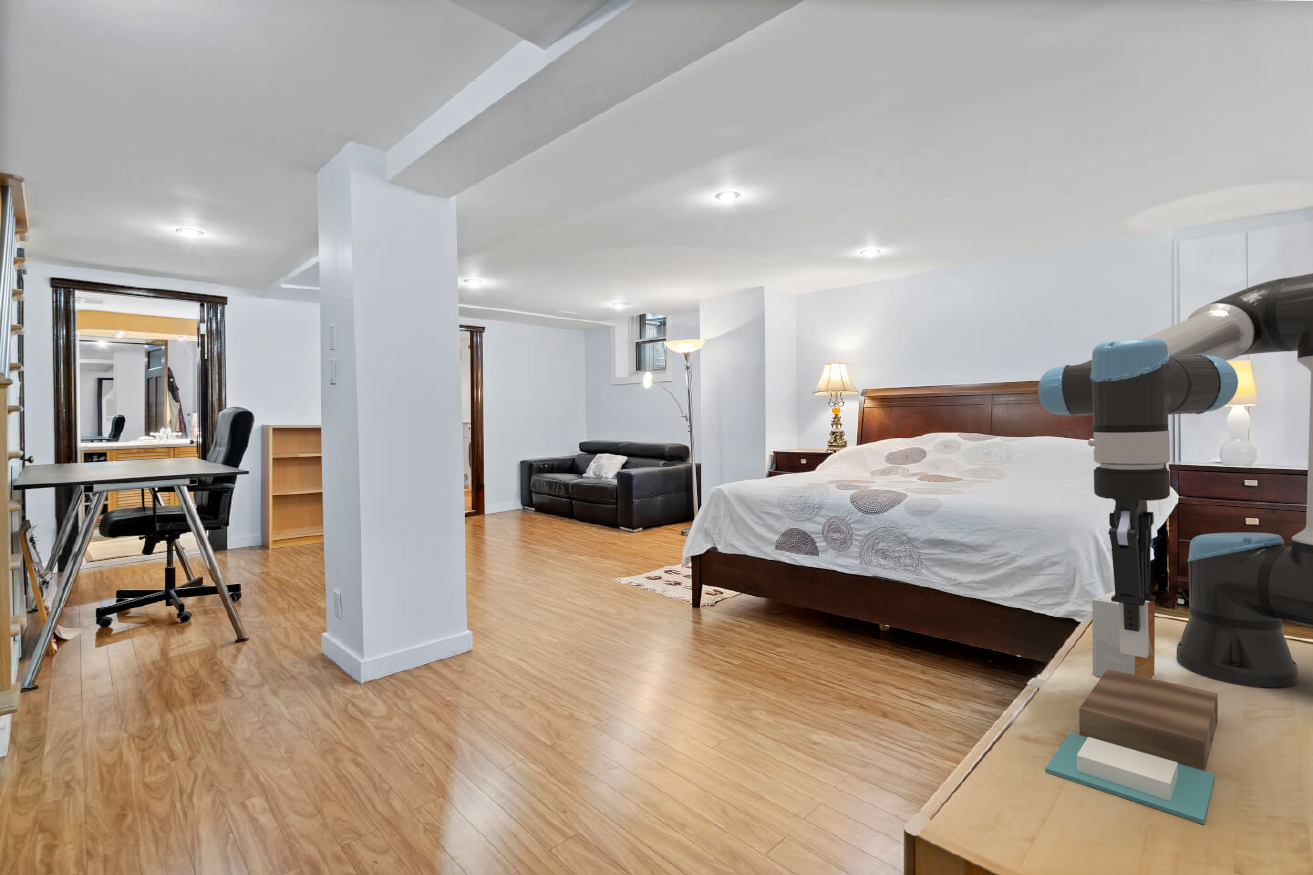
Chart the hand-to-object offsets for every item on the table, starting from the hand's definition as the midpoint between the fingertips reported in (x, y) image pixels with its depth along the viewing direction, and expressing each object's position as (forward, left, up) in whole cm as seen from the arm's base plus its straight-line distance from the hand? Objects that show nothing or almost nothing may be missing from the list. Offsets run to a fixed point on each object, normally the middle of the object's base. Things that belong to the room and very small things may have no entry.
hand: (1134, 653), depth 79 cm
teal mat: (+2, +2, -14) cm, 15 cm away
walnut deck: (-10, -8, -14) cm, 19 cm away
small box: (-20, -25, -15) cm, 35 cm away
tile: (+3, +2, -12) cm, 12 cm away
